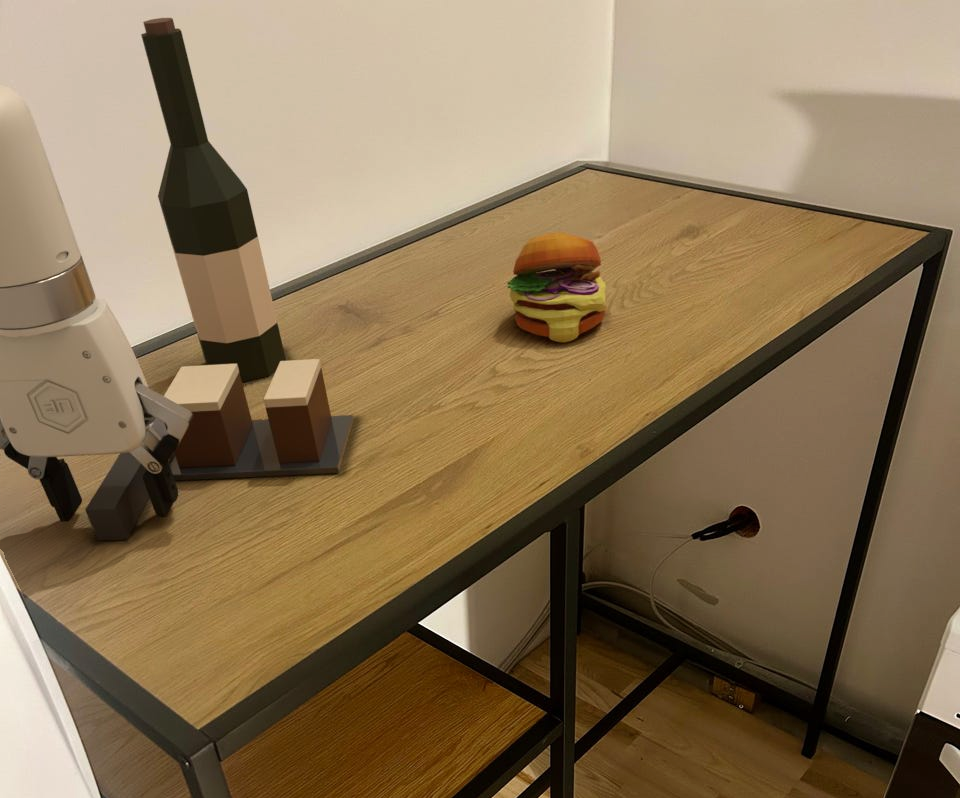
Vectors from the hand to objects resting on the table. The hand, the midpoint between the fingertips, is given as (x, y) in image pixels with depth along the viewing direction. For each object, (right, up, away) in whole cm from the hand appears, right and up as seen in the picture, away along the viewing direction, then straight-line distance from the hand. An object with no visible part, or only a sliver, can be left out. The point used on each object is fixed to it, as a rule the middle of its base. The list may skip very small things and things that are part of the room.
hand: (119, 508), depth 77 cm
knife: (+1, +3, +5) cm, 6 cm away
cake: (+6, +7, +7) cm, 11 cm away
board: (+10, +6, +7) cm, 14 cm away
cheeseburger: (+37, +23, +23) cm, 49 cm away
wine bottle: (+5, +18, +21) cm, 28 cm away
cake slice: (+14, +7, +7) cm, 17 cm away
